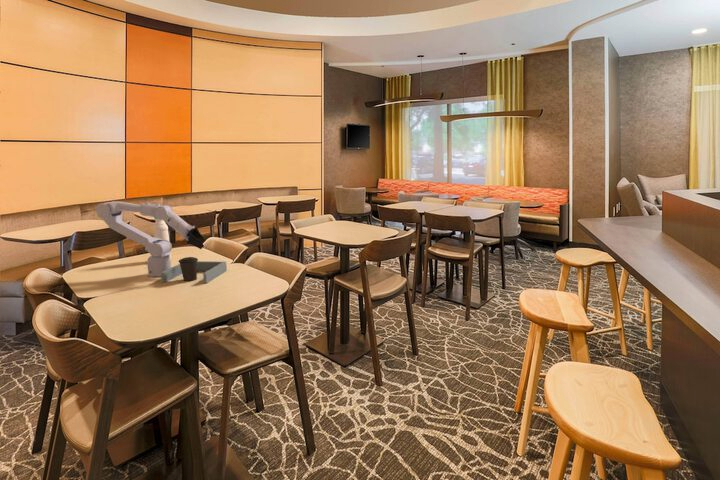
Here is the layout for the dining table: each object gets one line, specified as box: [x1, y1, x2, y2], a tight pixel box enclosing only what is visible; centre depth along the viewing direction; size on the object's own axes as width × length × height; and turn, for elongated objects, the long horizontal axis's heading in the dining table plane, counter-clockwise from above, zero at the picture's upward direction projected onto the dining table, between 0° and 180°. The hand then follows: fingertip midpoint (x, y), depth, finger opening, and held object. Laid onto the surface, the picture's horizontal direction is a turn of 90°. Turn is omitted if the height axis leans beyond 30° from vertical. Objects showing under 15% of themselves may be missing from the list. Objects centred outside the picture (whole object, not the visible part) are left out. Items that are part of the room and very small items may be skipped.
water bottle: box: [152, 217, 172, 261], centre depth 212 cm, size 7×7×25 cm
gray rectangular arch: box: [161, 260, 228, 285], centre depth 185 cm, size 20×20×4 cm
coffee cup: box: [178, 256, 199, 282], centre depth 179 cm, size 8×8×10 cm
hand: (203, 244), depth 185 cm, fingers open, 7 cm apart
